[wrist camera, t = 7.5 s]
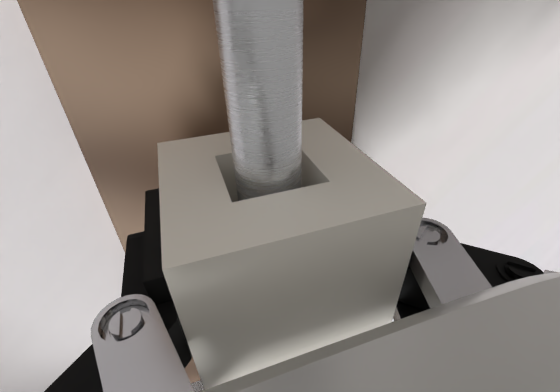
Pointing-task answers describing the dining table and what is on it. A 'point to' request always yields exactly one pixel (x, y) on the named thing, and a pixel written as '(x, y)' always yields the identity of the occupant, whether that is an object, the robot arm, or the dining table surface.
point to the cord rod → (263, 91)
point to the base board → (170, 83)
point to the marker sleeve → (280, 251)
